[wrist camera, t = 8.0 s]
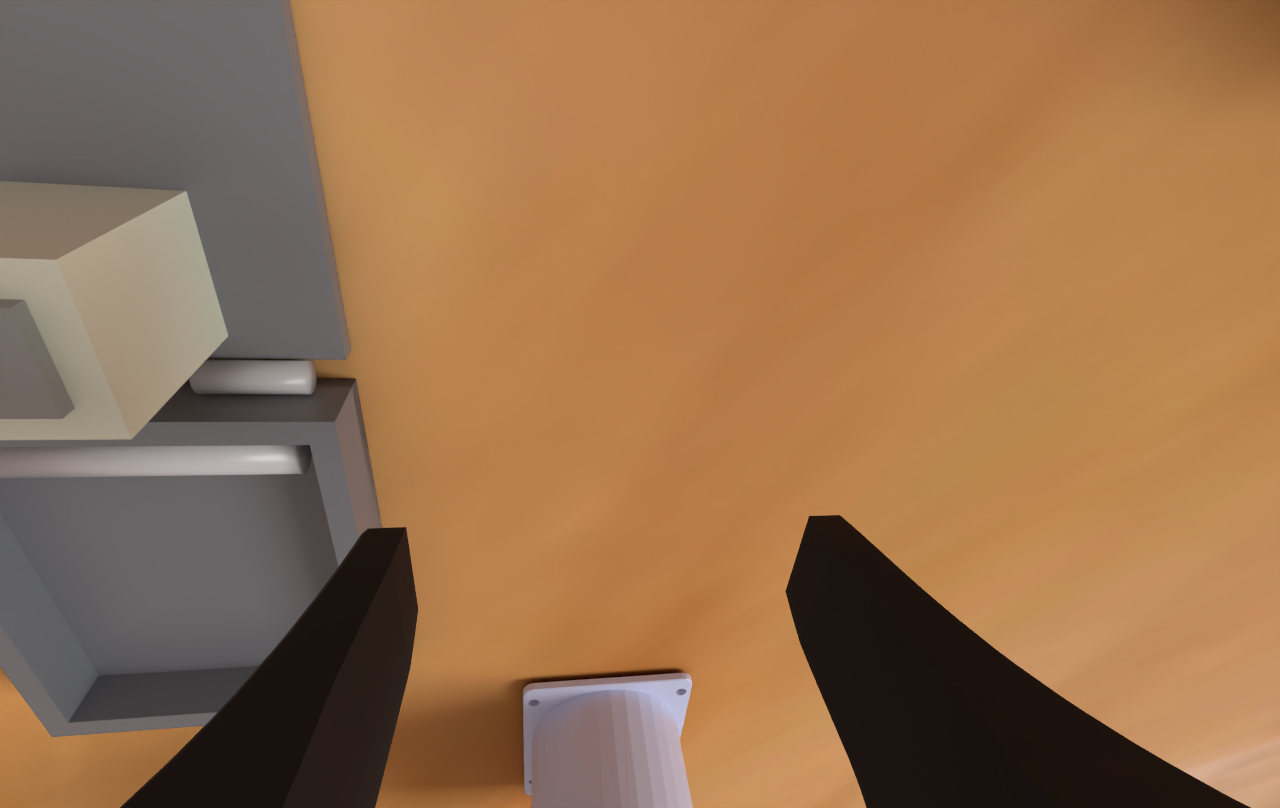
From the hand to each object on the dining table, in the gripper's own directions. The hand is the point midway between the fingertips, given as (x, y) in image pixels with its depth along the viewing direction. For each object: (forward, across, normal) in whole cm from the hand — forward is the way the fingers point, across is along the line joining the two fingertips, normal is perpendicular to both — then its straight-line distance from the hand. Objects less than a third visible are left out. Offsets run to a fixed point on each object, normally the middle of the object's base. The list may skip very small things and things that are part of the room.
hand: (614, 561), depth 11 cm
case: (+10, +13, +9) cm, 19 cm away
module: (+9, +12, -2) cm, 15 cm away
